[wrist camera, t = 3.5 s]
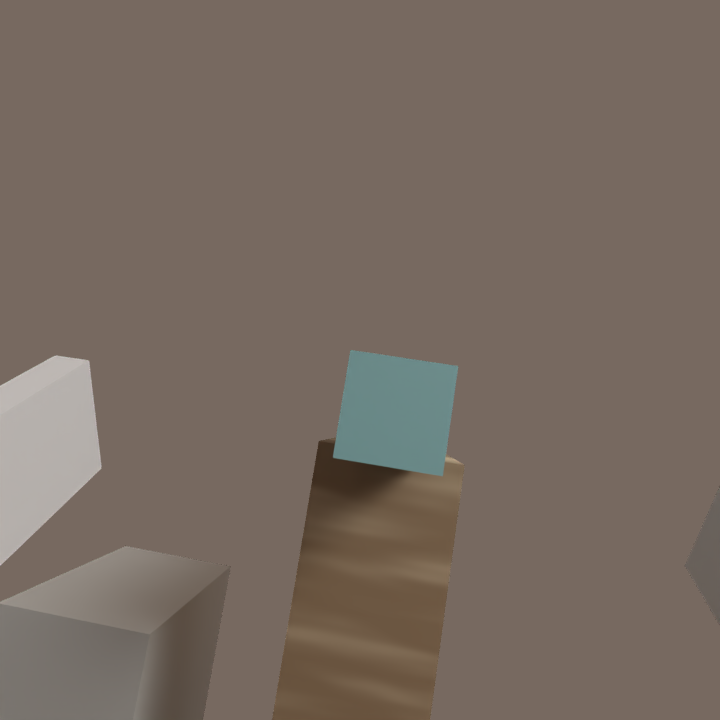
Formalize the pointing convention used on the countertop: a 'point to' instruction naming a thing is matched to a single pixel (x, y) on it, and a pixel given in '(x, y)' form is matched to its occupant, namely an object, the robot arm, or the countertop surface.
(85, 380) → the robot arm
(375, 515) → the oak block
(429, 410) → the teal block
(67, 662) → the step block
